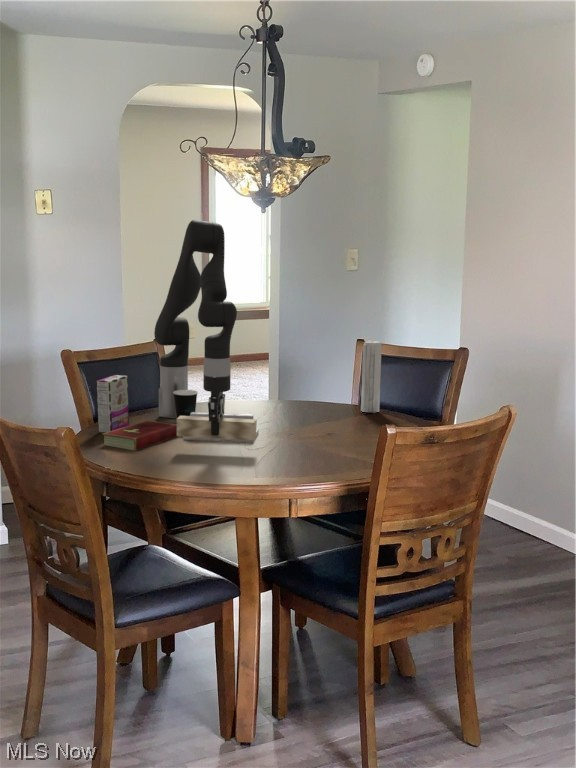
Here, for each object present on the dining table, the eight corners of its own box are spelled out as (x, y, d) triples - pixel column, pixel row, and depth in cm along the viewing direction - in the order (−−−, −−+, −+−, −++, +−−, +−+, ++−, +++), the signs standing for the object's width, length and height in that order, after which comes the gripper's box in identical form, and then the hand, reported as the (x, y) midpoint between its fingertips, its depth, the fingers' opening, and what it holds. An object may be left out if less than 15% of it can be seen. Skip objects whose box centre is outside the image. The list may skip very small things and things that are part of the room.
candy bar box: (115, 425, 269) (114, 374, 267) (129, 426, 268) (128, 375, 265) (97, 432, 259) (95, 379, 256) (111, 433, 257) (110, 381, 255)
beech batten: (176, 436, 236) (176, 418, 235) (180, 432, 240) (180, 415, 239) (254, 440, 234) (254, 422, 233) (256, 436, 238) (256, 419, 237)
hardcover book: (178, 437, 256) (178, 424, 255) (135, 452, 238) (135, 437, 237) (147, 432, 262) (147, 419, 261) (102, 446, 243) (102, 432, 243)
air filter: (382, 411, 297) (384, 341, 293) (374, 414, 292) (376, 343, 288) (365, 409, 301) (368, 340, 296) (357, 412, 295) (359, 341, 291)
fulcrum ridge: (183, 439, 251) (183, 416, 250) (191, 430, 263) (191, 408, 262) (253, 442, 249) (253, 419, 248) (258, 433, 261) (258, 411, 260)
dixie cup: (192, 429, 265) (192, 394, 264) (169, 427, 268) (168, 393, 266) (201, 424, 273) (201, 390, 271) (179, 422, 275) (179, 389, 273)
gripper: (208, 368, 241) (208, 427, 244) (198, 377, 227) (198, 438, 230) (234, 369, 240) (233, 428, 243) (226, 378, 226) (225, 440, 229)
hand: (216, 433), depth 237 cm, fingers closed on beech batten, 4 cm apart
